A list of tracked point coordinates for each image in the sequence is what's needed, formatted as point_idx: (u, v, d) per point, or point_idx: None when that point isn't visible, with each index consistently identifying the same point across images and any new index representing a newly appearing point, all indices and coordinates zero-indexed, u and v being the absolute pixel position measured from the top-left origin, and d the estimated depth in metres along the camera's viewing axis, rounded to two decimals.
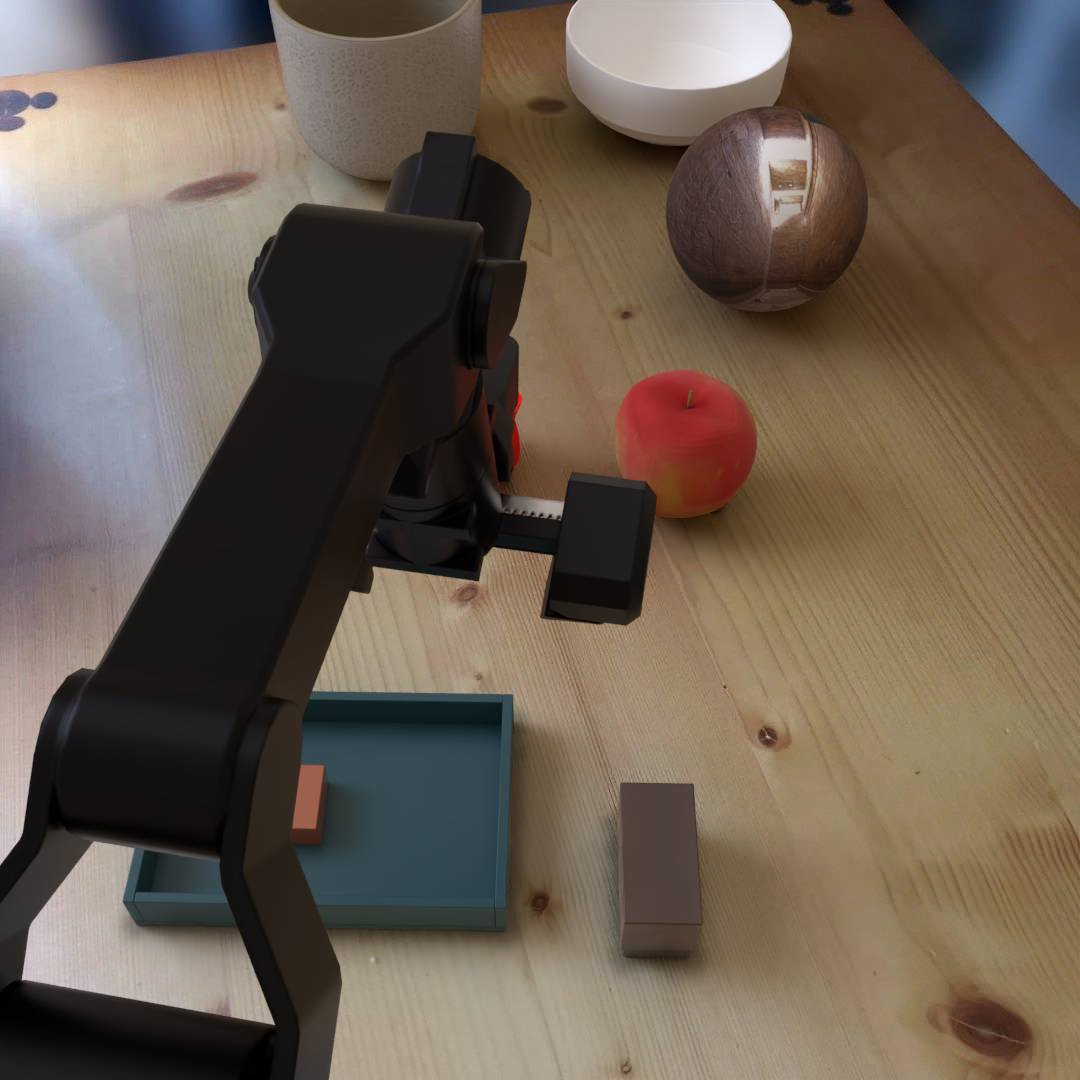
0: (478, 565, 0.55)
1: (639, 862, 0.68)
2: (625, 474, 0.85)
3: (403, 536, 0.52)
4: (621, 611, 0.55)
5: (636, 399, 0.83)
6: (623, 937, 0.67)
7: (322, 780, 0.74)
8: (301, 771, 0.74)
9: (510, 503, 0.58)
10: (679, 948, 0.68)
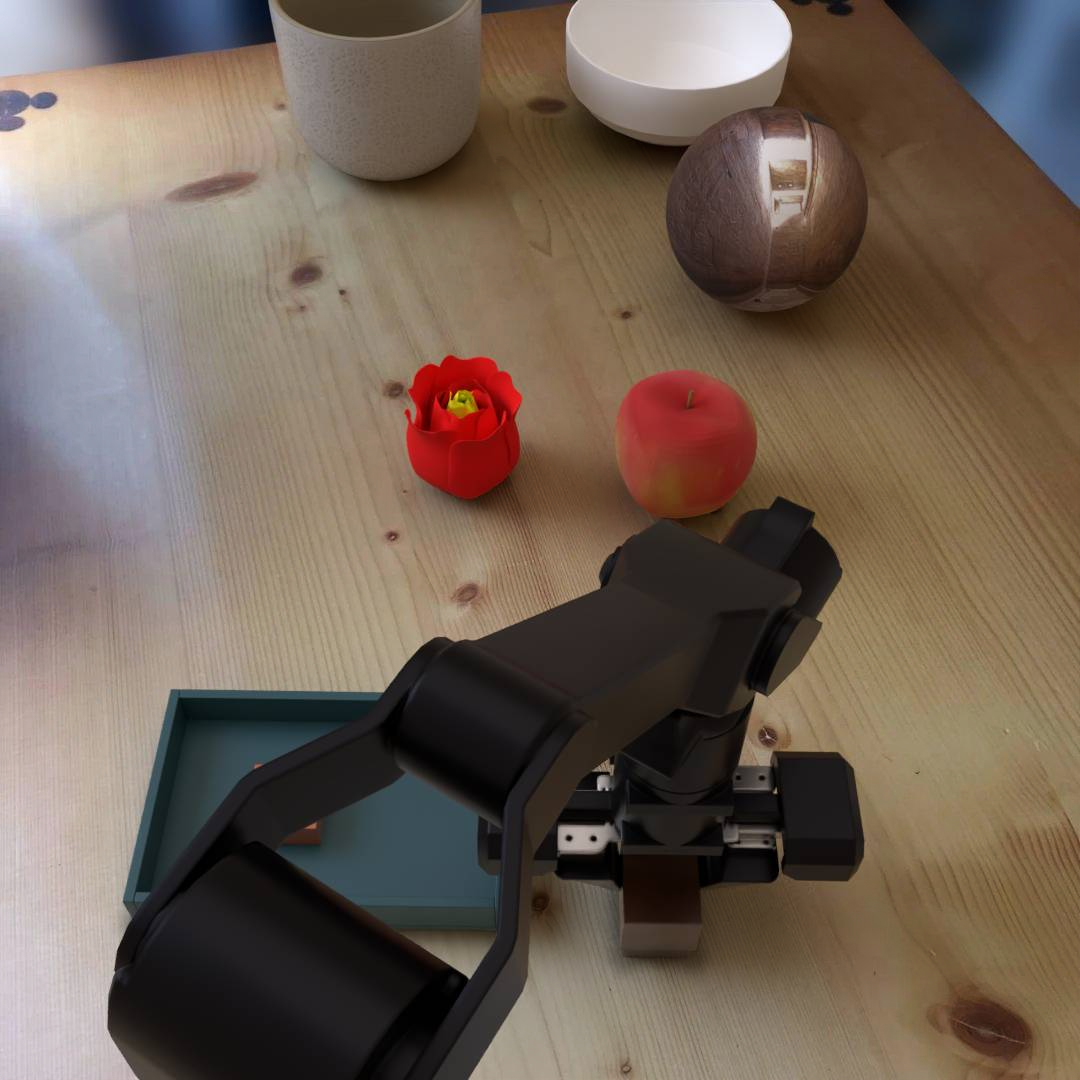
0: (723, 840, 0.62)
1: (639, 862, 0.68)
2: (625, 474, 0.85)
3: (669, 819, 0.59)
4: (849, 866, 0.62)
5: (636, 399, 0.83)
6: (623, 937, 0.67)
7: None
8: None
9: None
10: (679, 948, 0.68)
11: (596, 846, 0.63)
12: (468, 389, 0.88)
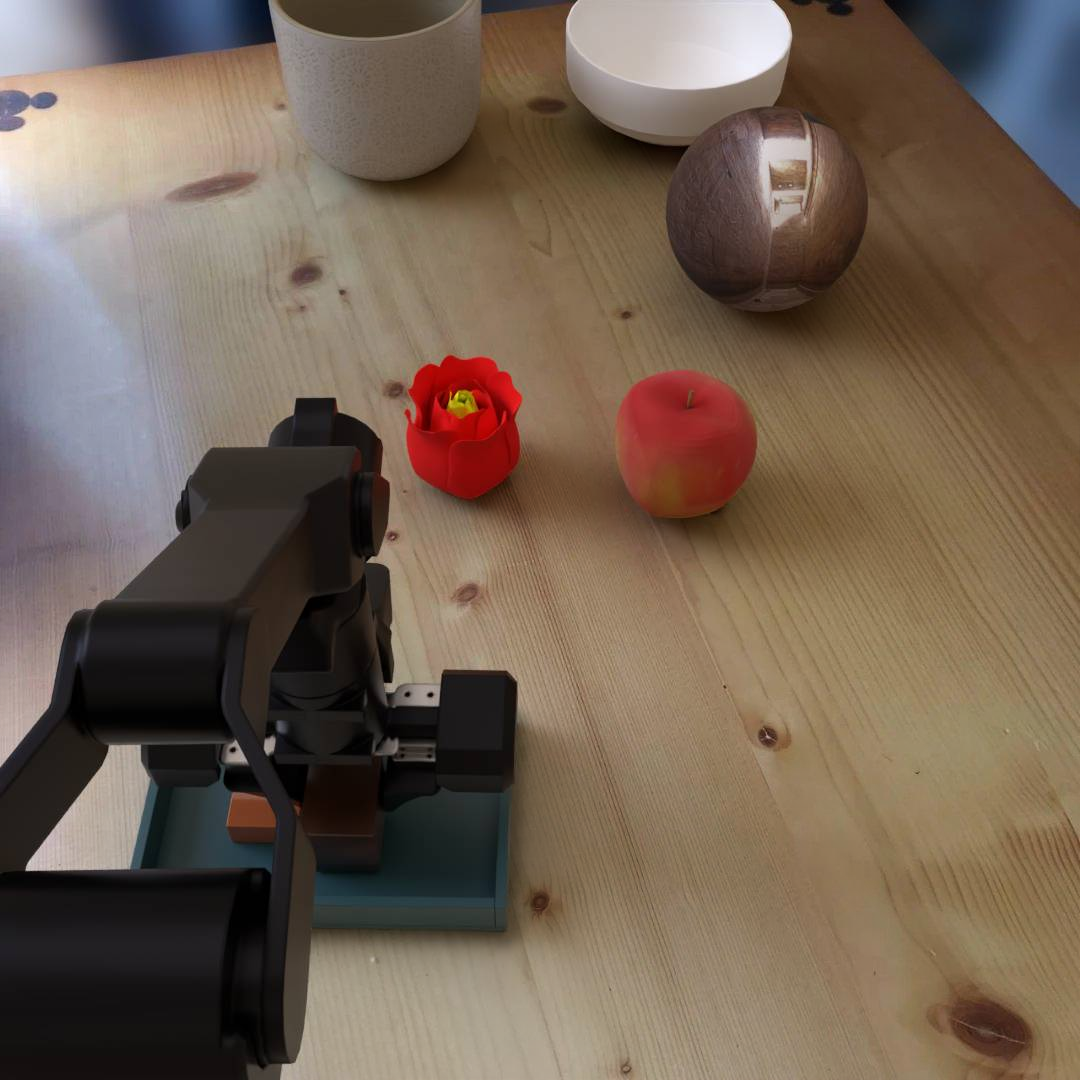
0: (372, 750, 0.64)
1: (322, 778, 0.70)
2: (625, 474, 0.85)
3: (307, 726, 0.62)
4: (497, 777, 0.64)
5: (636, 399, 0.83)
6: None
7: None
8: None
9: None
10: (362, 862, 0.70)
11: None
12: (468, 389, 0.88)
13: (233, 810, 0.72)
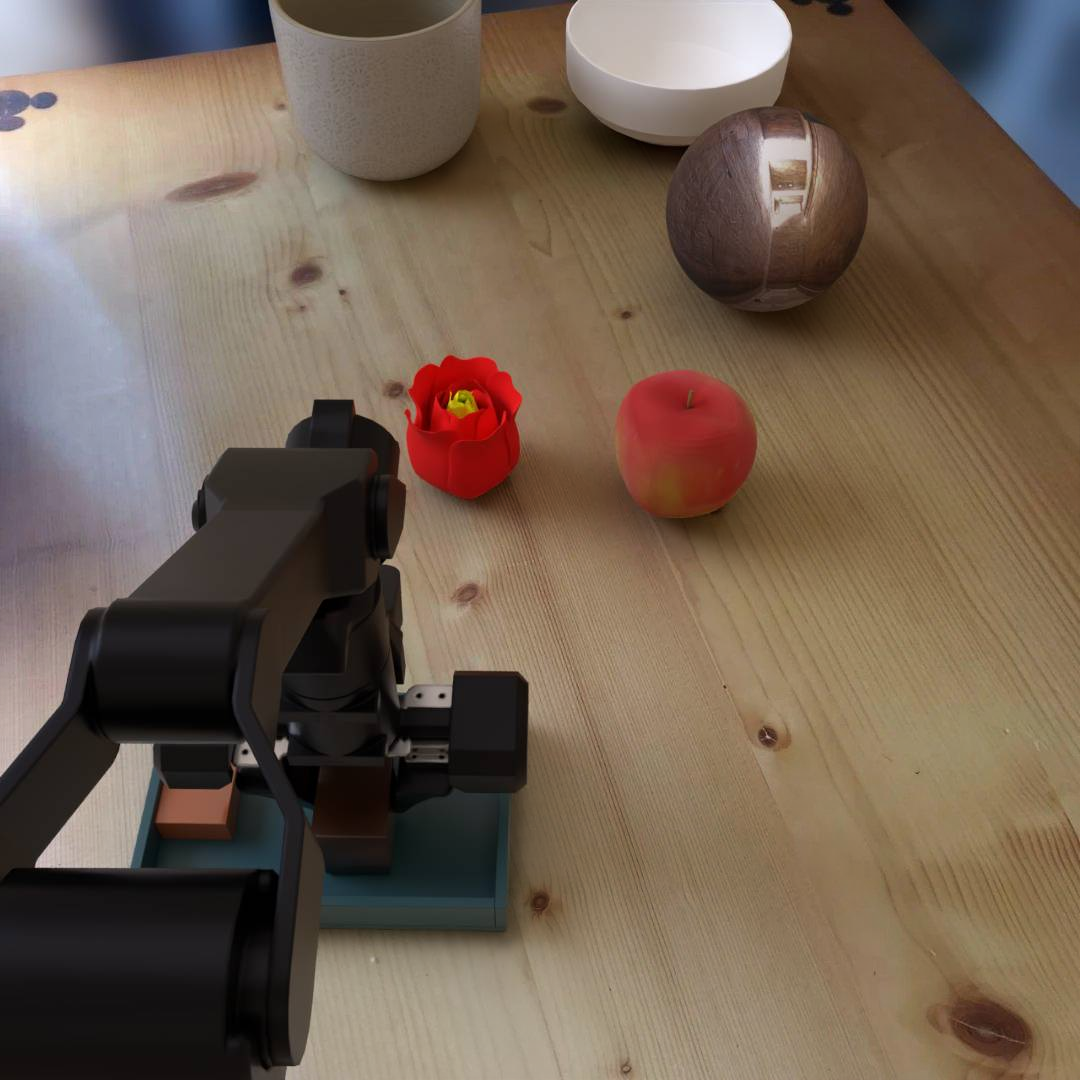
0: (385, 751, 0.64)
1: (333, 780, 0.70)
2: (625, 474, 0.85)
3: (321, 727, 0.62)
4: (510, 777, 0.65)
5: (636, 399, 0.83)
6: None
7: (234, 776, 0.74)
8: None
9: None
10: (374, 863, 0.70)
11: None
12: (468, 389, 0.88)
13: (162, 807, 0.72)
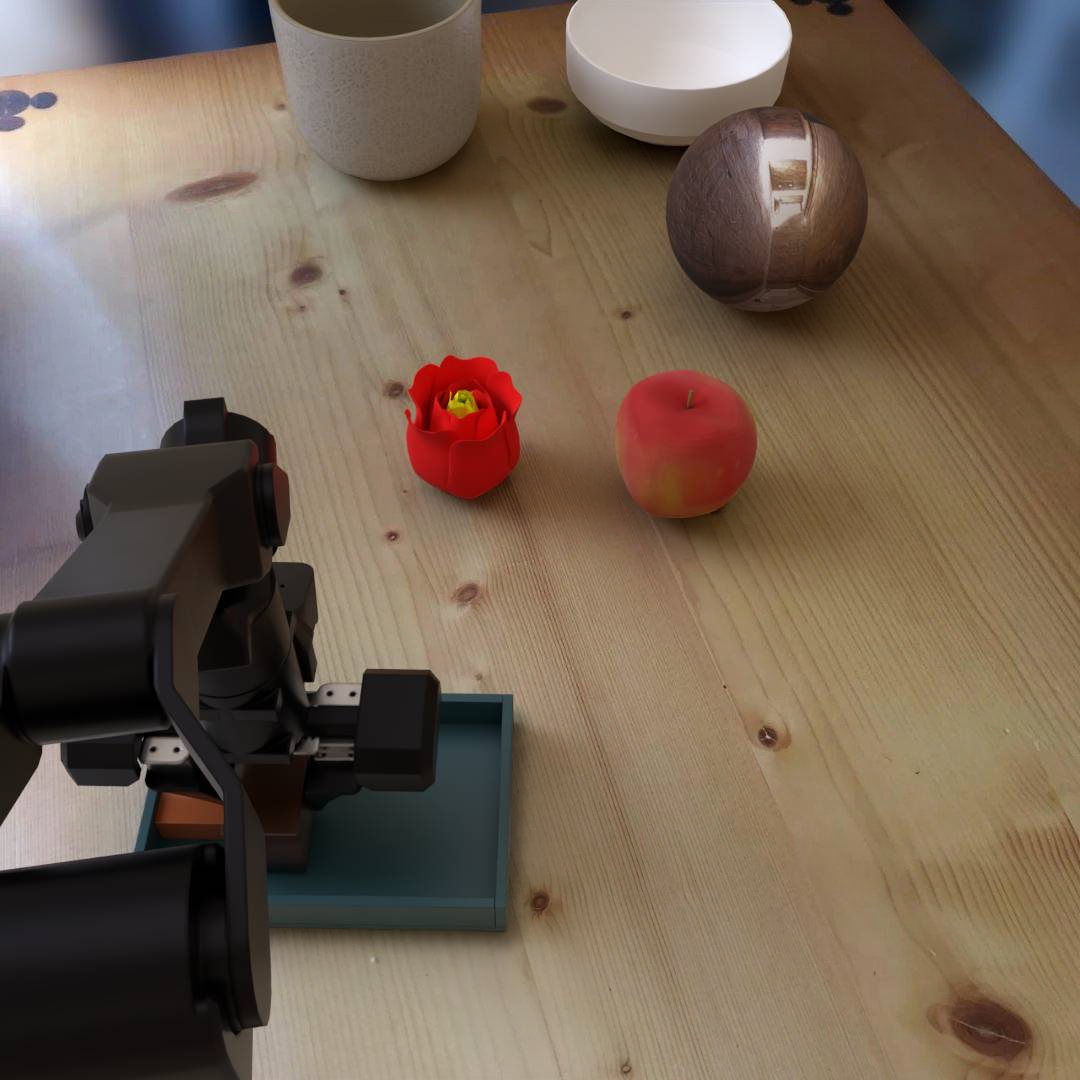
0: (289, 749, 0.64)
1: (247, 777, 0.70)
2: (625, 474, 0.85)
3: (221, 725, 0.62)
4: (416, 775, 0.65)
5: (636, 399, 0.83)
6: None
7: None
8: None
9: None
10: (288, 861, 0.70)
11: (177, 757, 0.65)
12: (468, 389, 0.88)
13: (162, 807, 0.72)
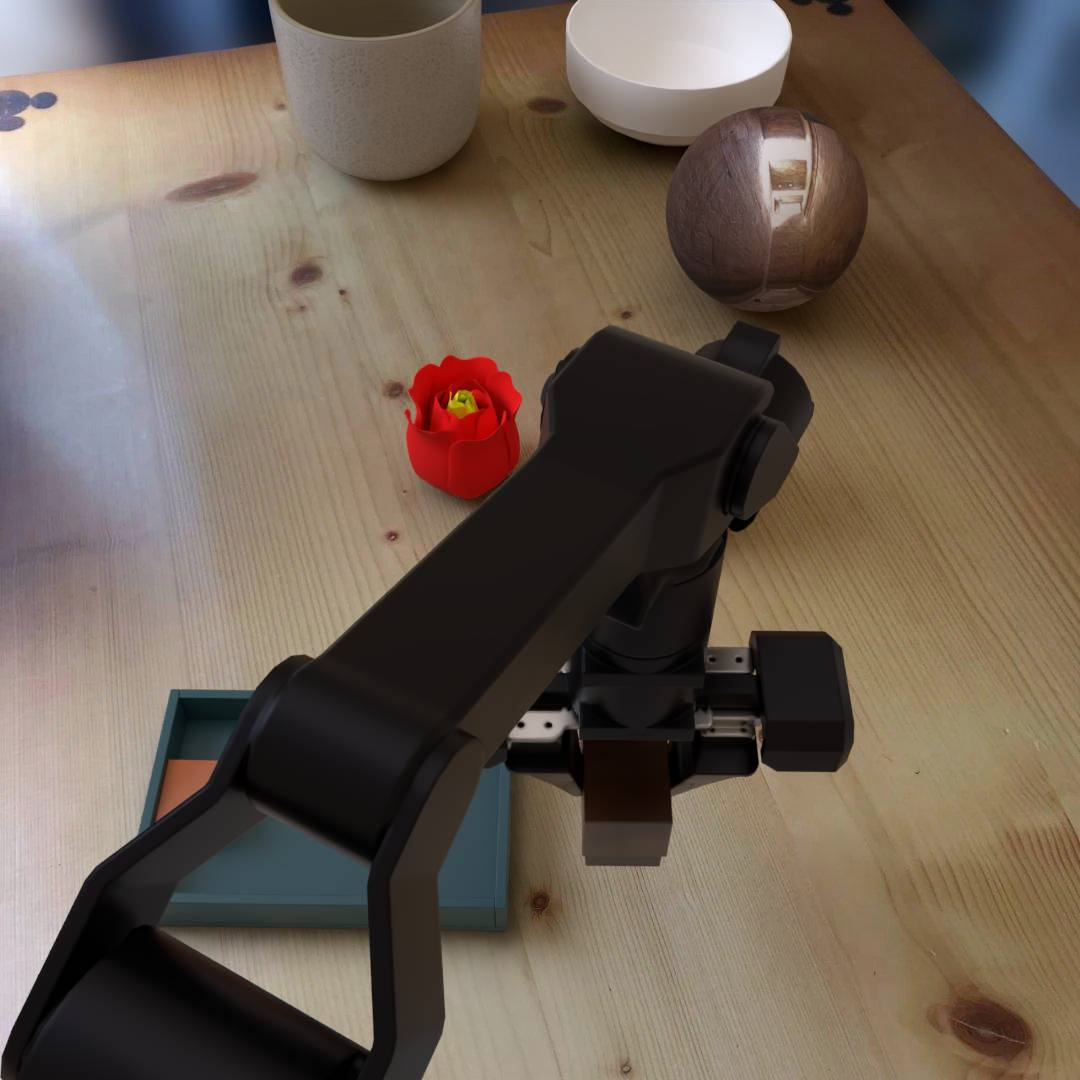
0: (694, 722, 0.54)
1: (602, 758, 0.61)
2: None
3: (632, 693, 0.52)
4: (837, 753, 0.55)
5: None
6: (584, 840, 0.60)
7: None
8: (214, 767, 0.74)
9: None
10: (647, 854, 0.61)
11: (551, 733, 0.56)
12: (468, 389, 0.88)
13: (162, 807, 0.72)
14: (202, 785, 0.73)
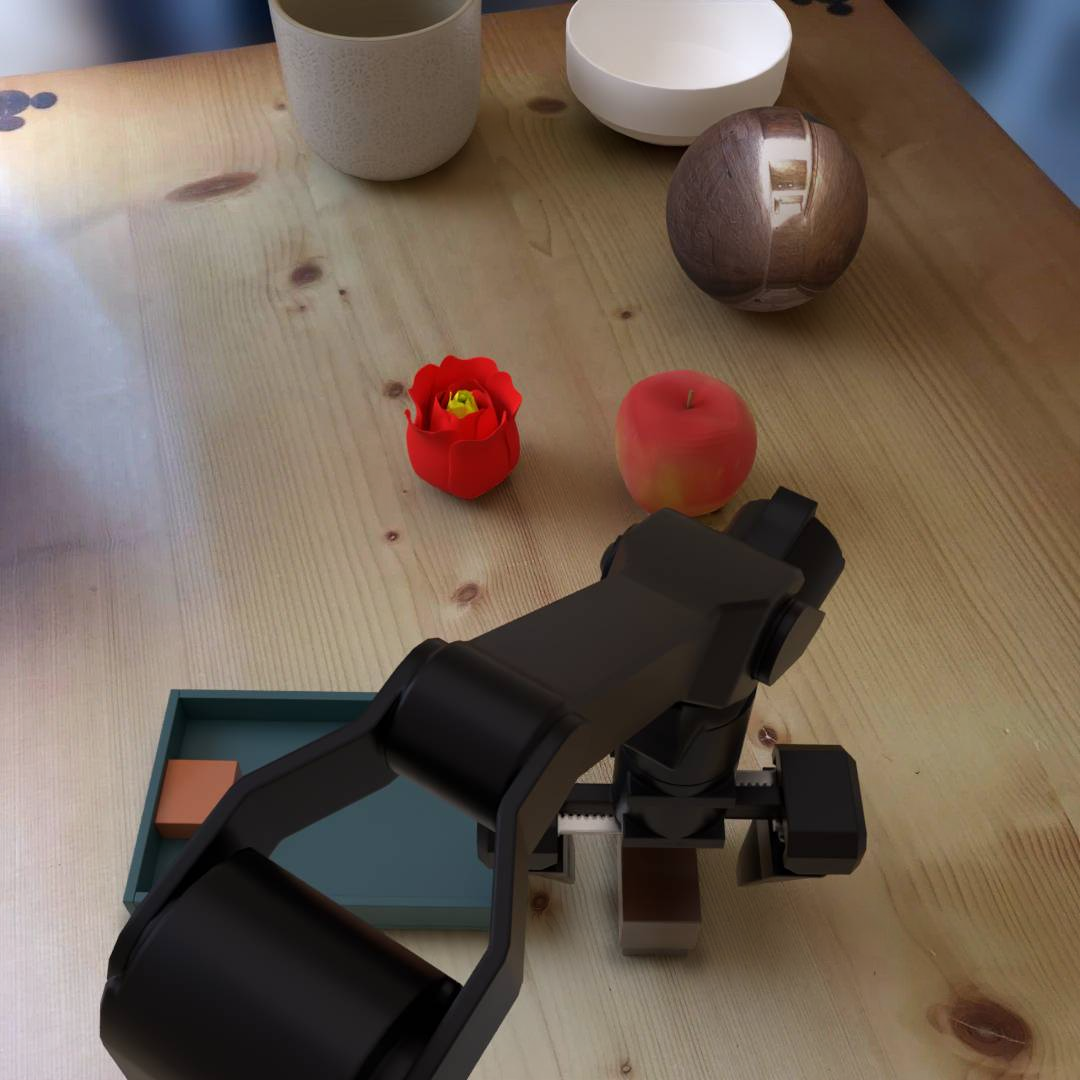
0: (724, 833, 0.61)
1: (638, 861, 0.68)
2: (625, 474, 0.85)
3: (671, 811, 0.59)
4: (851, 860, 0.62)
5: (636, 399, 0.83)
6: (622, 935, 0.67)
7: (234, 776, 0.74)
8: (214, 767, 0.74)
9: None
10: (678, 946, 0.68)
11: None
12: (468, 389, 0.88)
13: (162, 807, 0.72)
14: (202, 785, 0.73)
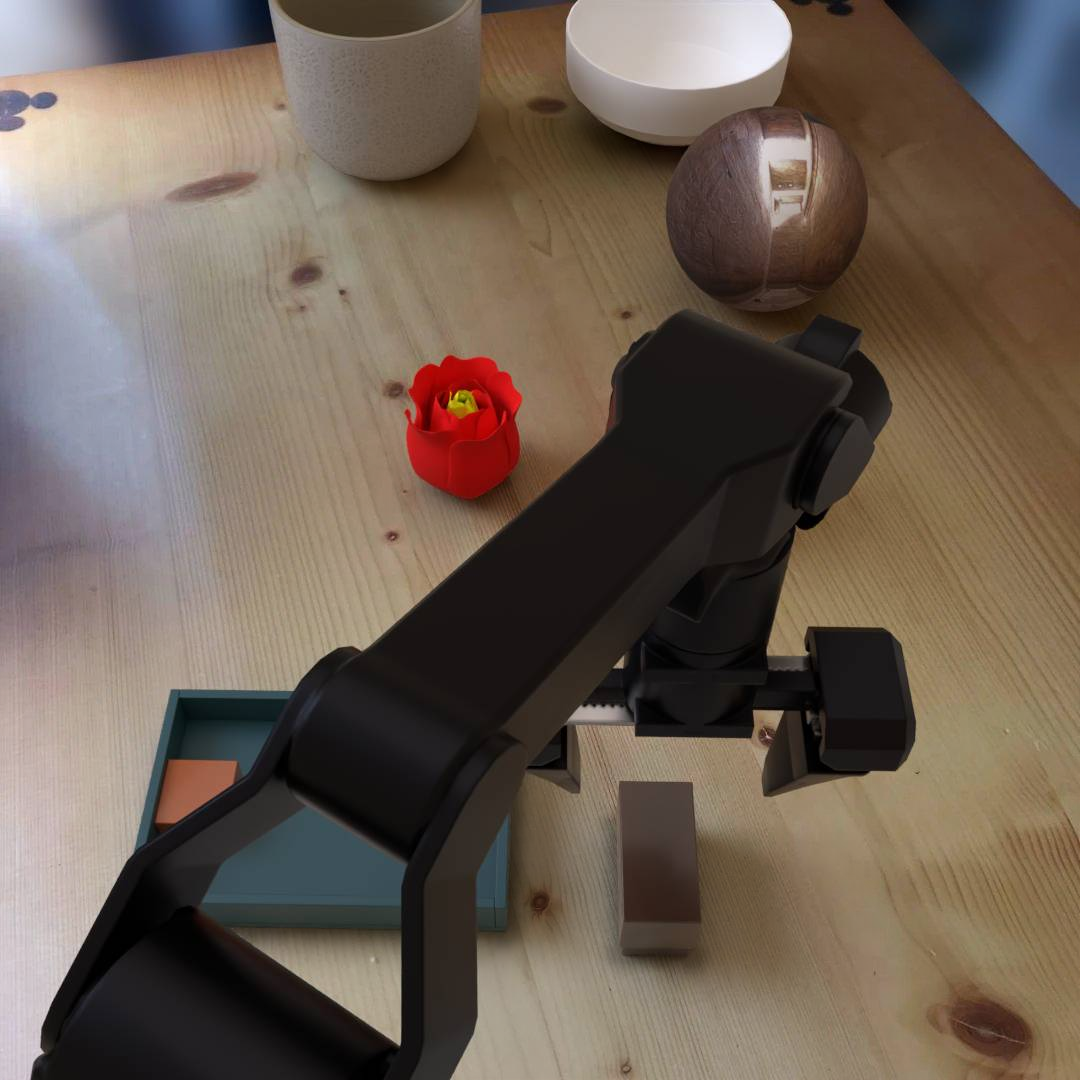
0: None
1: (638, 861, 0.68)
2: None
3: (692, 689, 0.51)
4: (898, 751, 0.54)
5: None
6: (622, 935, 0.67)
7: (234, 776, 0.74)
8: (214, 767, 0.74)
9: None
10: (678, 946, 0.68)
11: None
12: (468, 389, 0.88)
13: (162, 807, 0.72)
14: (202, 785, 0.73)
